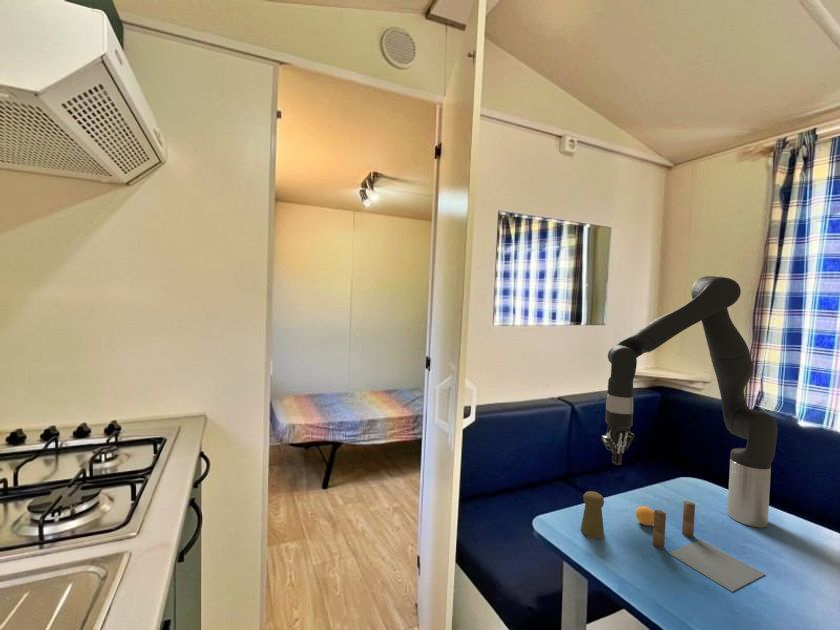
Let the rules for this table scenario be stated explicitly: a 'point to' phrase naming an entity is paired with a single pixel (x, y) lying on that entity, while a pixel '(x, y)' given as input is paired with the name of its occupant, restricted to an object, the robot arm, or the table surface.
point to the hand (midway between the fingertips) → (616, 463)
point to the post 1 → (659, 529)
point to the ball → (645, 515)
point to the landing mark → (717, 565)
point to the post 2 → (688, 519)
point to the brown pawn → (593, 516)
